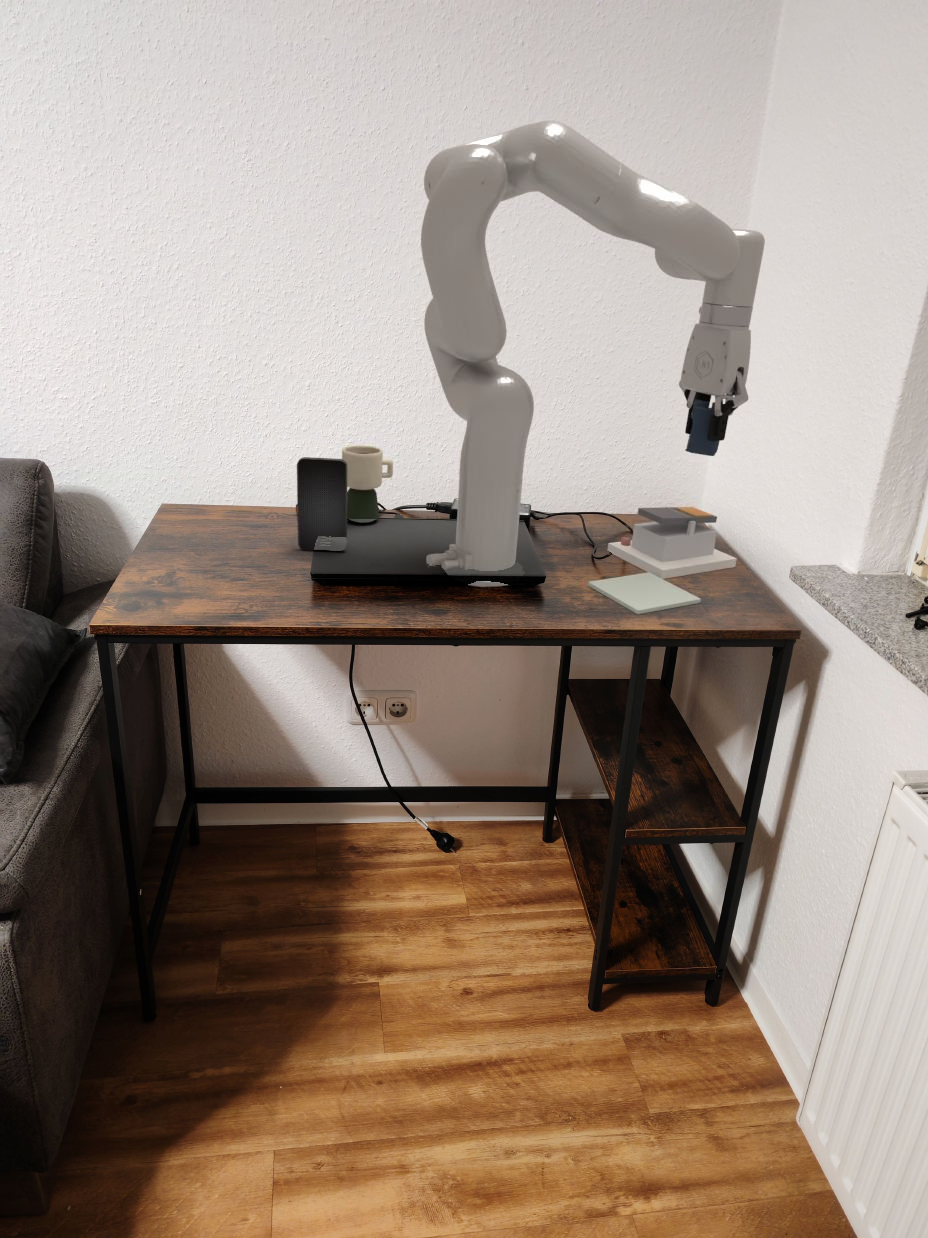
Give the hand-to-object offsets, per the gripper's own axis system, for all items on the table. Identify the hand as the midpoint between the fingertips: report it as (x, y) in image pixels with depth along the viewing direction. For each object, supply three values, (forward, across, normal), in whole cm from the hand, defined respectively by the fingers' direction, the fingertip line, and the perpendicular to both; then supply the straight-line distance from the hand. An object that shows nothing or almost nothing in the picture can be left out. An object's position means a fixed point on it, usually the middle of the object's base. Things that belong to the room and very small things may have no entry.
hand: (704, 435), depth 144 cm
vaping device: (+3, 0, 0) cm, 3 cm away
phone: (+22, -25, -55) cm, 64 cm away
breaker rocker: (+13, -1, -2) cm, 13 cm away
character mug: (+22, -37, -43) cm, 61 cm away
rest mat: (+21, +10, -17) cm, 29 cm away
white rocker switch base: (+21, -1, -2) cm, 21 cm away
